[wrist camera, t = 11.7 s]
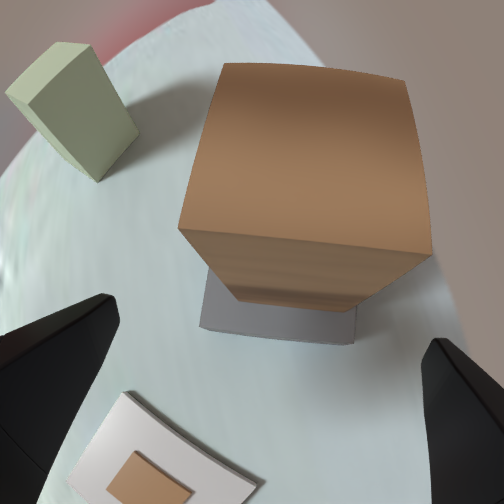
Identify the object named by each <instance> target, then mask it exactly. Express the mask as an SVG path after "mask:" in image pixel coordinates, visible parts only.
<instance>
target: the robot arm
mask: <svg viewBox="0 0 504 504" xmlns="http://www.w3.org/2000/svg"><path fill="white" fill-rule="evenodd" d="M119 324H120V317H119V312H118V308H117V304H116V299H115V297H114V296H112V295H109V294H104V293H101V294H98V295H96V296H93V297H91V298H88V299H86V300H84V301H81V302H79V303H76V304H74V305H72V306H69V307H67V308H65V309H62V310H60V311H58V312H55V313H53V314H50V315H48V316H46V317H43V318H41V319H39V320H36V321H34V322H32V323H29V324H27V325H25V326H23V327H20V328H18V329H16V330H13V331H11V332H9V333H6V334H5V335H2V336H0V504H36V503H37V501H38V498H39V496H40V493H41V491H42V489H43V486H44V484H45V481H46V479H47V477H48V474H49V472H50V470H51V467H52V465H53V463H54V461H55V458H56V456H57V454H58V452H59V450H60V447H61V445H62V443H63V441H64V439H65V437H66V435H67V433H68V431H69V429H70V427H71V424H72V422H73V420H74V418H75V416H76V414H77V412H78V410H79V408H80V406H81V405H82V403H83V401H84V399H85V397H86V395H87V393H88V391H89V389H90V387H91V385H92V383H93V382H94V380H95V378H96V376H97V374H98V372H99V370H100V368H101V366H102V364H103V362H104V360H105V357H106V355H107V352H108V350H109V348H110V345H111V343H112V341H113V338H114V336H115V334H116V331H117V329H118V327H119ZM421 372H422V386H423V405H424V417H425V425H426V433H427V441H428V451H429V462H430V476H431V496H432V504H504V389H503V388H502V387H501V386H500V385H499V384H498V383H497V382H496V381H495V380H494V379H492V377H490V376H489V375H488V374H487V373H486V372H485V371H484V370H483V369H482V368H480V367H479V366H478V365H477V364H476V363H475V362H474V361H473V360H471V359H470V358H469V357H468V356H467V355H466V354H465V353H463V352H462V351H461V350H460V349H459V348H458V347H457V346H455V345H454V344H453V343H452V342H451V341H450V340H448V339H447V338H434V339H433V340H432V341H431V343H430V345H429V347H428V349H427V351H426V353H425V355H424V357H423V359H422V363H421Z"/></svg>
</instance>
